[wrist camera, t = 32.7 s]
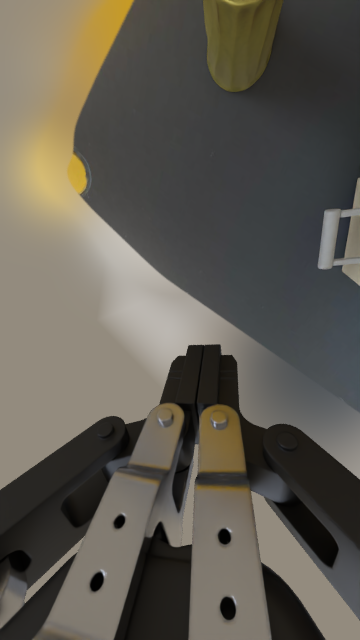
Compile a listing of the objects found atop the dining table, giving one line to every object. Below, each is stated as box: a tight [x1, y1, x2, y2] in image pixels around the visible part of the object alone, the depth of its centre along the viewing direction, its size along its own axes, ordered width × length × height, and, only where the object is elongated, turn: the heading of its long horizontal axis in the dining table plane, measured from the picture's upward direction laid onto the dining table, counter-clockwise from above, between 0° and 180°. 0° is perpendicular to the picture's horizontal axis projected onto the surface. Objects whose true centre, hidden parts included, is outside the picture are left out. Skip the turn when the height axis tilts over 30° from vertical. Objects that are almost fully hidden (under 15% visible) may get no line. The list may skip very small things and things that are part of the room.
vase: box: [203, 0, 283, 92], centre depth 18 cm, size 6×6×14 cm
